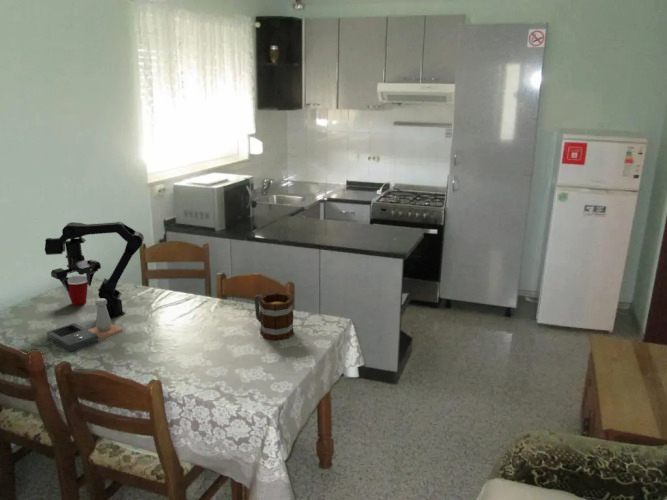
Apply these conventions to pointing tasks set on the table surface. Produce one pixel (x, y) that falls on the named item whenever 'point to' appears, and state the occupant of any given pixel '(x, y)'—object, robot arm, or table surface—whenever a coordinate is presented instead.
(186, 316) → the table surface
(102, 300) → the salt shaker
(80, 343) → the grey rectangular device
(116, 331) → the terracotta coaster
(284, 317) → the mug
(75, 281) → the plastic cup
